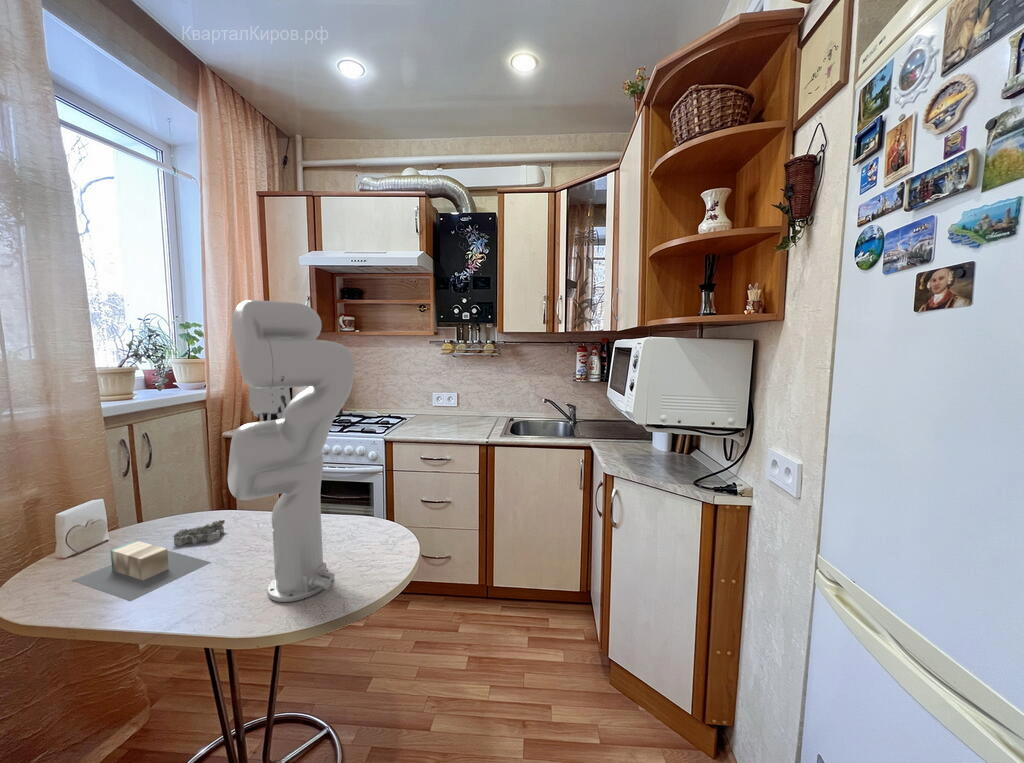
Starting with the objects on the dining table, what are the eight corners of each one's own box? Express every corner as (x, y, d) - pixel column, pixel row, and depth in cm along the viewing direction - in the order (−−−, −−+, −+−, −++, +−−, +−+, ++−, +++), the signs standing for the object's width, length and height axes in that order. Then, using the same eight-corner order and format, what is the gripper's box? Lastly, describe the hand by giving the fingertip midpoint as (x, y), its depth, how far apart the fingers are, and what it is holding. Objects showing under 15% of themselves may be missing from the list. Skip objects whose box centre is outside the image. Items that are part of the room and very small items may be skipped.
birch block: (167, 548, 94) (136, 540, 98) (141, 559, 89) (110, 550, 93) (168, 568, 94) (138, 559, 99) (143, 580, 90) (112, 570, 94)
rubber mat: (211, 564, 97) (211, 562, 97) (130, 603, 82) (130, 601, 82) (155, 549, 105) (155, 547, 105) (72, 582, 90) (72, 580, 90)
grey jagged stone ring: (227, 532, 115) (227, 519, 115) (216, 544, 108) (215, 530, 108) (184, 537, 112) (183, 523, 112) (169, 549, 105) (168, 534, 105)
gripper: (300, 369, 104) (304, 438, 106) (260, 369, 110) (264, 434, 111) (275, 371, 97) (279, 444, 99) (233, 370, 103) (237, 440, 104)
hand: (271, 438), depth 105 cm, fingers closed
